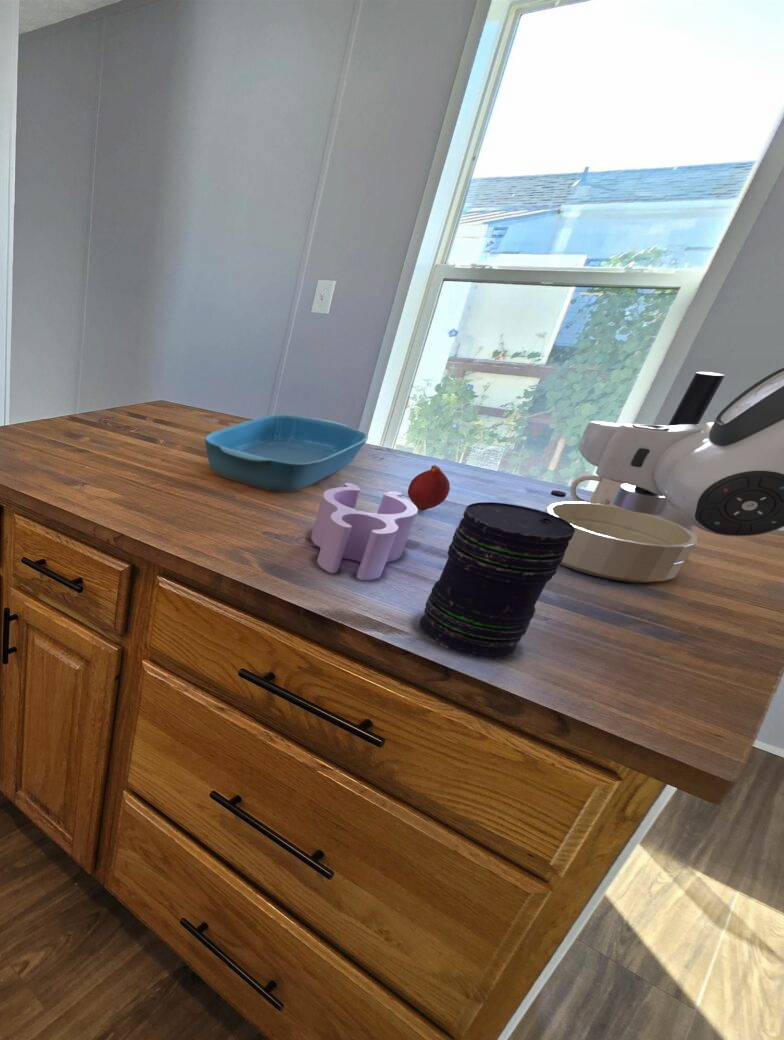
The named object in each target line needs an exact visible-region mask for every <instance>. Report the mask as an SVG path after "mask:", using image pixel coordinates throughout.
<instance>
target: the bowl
mask: <svg viewBox="0 0 784 1040" xmlns="http://www.w3.org/2000/svg"><path fill="white" fill-rule="evenodd" d="M544 512H546V513H549V514H552V515H554V516H557V517H559V518H561V519H563V520H565V521H567V522H569V523H570V524H571V525H573V526H574V528H575V530H576V531H575V533H574V535H573V537H572V539H571V540H570V541H568V542H569V545H568V547H567V549H566V551H565V555H564V557H563V559H562V561H561V563H560V565H561V566H564V567H567V568H569V569H572V570H574V571H577V572H580V573H584V574H587V575H591V576H595V577H598V578H604V579H607V580H608V579H609V580H613V581H619V582H627V583H653V582H665V581H669V580H672V579H675V578H676V576H677V575H678V573H679V571H680V570H681V569H682V566H683V565H684V564H685V562H686V560H687V559H688V557H689V556H690V554H691V552H692V550H693V548H694V547H695V546H696V544H697V543H698V540H699V538H698V537H697V535H696V534H695V533H694V532H691V531H689V530H688V529H686V528H684V527H682V526H681V525H678V524H676V523H673V522H671V521H668V520H666V519H663V518H660V517H657V516H654V515H650V514H644V513H638V512H634V511H630V510H626V509H623V508H620V507H617V506H611V505H605V504H599V503H588V502H575V501H561V502H560V501H559V502H554V503H550V504H549V505H548V506H547V507H546V508H545V511H544Z"/></svg>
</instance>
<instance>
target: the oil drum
mask: <svg viewBox="0 0 784 1040" xmlns="http://www.w3.org/2000/svg"><path fill="white" fill-rule="evenodd" d="M550 495H552V496H553V497H557V498H565V497H566V496H567V492H564V491H561V490H552V491H551V492H550ZM462 516H463V517H462V518H461V519H460V522H459V524H458V526H457V527H456V529H455V531H454V533H453V536H452V540H451V542H450V544H449V545H448V550H447V556H448V557H447V559H446V562H445V564H444V567H443V569H442V572H441V574H440V577H439V579H438V580H436V581H435V583H434V584H433V586H432V588H431V592H430V594H429V595H428V598H427V599H426V602H425V608H424V610H423V615H422V616H421V617H420V620H419V622H418V627H419V629H420V631H421V632H422V633H423V634H424V635H425V636H426V638H428V639H429V640H431V641H432V642H434V643H435V644H437V645H439V646H441V647H444V648H445V649H448V650H450V651H453V652H456V653H459V654H461V655H465V656H469V657H474V658H480V659H488V660H496V659H497V660H498V659H501V660H502V659H505V658H509V657H511V656H512V655H514V654H515V652H516V650H517V647H518V643H520V641H521V640H522V638H523V636H524V635H526V633H527V631H528V629H529V627H530V625H531V623H530V622H531V621H532V619H534V617H535V613H536V604H537V602H538V600H539V598H540V597H541V594H542V592H543V590H544V588H545V586H546V584H547V583H548V582H550V581H551V580H552V579H553V577H554V576H555V575H556V573H557V569H558V567H559V566H560V565H561V564H560V563H561V561H562V559H563V557H564V555H565V551H566V549H567V547H568V545H569V542H568V541H570V540H571V539H572V537H573V535H574V533H575V531H576V530H575V528H574V526H573V525H571V524H570V523H569V522H567V521H565V520H563V519H561V518H559V517H557V516H554V515H552V514H549V513H546V512H545V511H543V510H540V509H536V508H532V507H527V506H523V505H518V504H512V503H506V502H505V503H504V502H491V501H489V502H488V501H483V502H475V503H470V504H468V505H467V506H466V507H465V509H464V512H463V515H462Z"/></svg>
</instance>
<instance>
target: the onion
mask: <svg viewBox="0 0 784 1040" xmlns="http://www.w3.org/2000/svg"><path fill="white" fill-rule="evenodd" d="M430 467H431V468H430V469H428V470H425V471H423V472H420V473H418V474H417V475H415V476H414V477H413V479H412V480H411V481H410V483H409V485H408V489H407V495H408V499H410V502H412V503H413V504H414V505H415V506H416V507H417V509H418V511H420V512H423V511H427V510H430V509H433V508H436V507H437V506H439V505H441V504H442V503H443V502H445V500H446V499H447V497H448V495H449V494H450V490H451V485H450V481H449V479H448V477H447V475H446V474H445V473H444V472H443V471H442V469H441V467H439V465H436V464H434V465H431V466H430Z"/></svg>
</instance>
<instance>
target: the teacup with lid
mask: <svg viewBox="0 0 784 1040" xmlns="http://www.w3.org/2000/svg"><path fill="white" fill-rule="evenodd" d="M584 481H595V482H598V483H597V484H596V487H595V489H594V491H593V493H592V495H591V497H590V499H589V500H585V499H583V498H580V497H579V496H578V494H577V492H576V491H577V487H578V485H579V484H581V483H582V482H584ZM622 484H625V483H621V482H617V481H613V480H610V479H606V478H602V477H600V476H598V475H594V474H585V475H581V476H578V477H577V478H576V479H575V480H573V482H572V483H571V486H570V489H569V492H570V497H571V499H572V500H573V502H588V503H599V504H605V505H611V506H616V505H614V504H613V502H612V501H613V499H614V497H615V495H616V493H617V491H618V489H619V487H620V486H621V485H622ZM617 507H618V506H617Z"/></svg>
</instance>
